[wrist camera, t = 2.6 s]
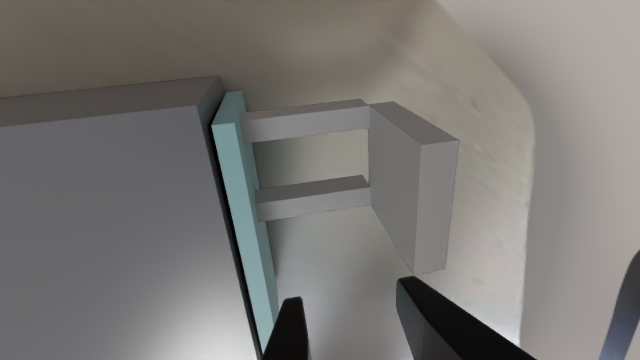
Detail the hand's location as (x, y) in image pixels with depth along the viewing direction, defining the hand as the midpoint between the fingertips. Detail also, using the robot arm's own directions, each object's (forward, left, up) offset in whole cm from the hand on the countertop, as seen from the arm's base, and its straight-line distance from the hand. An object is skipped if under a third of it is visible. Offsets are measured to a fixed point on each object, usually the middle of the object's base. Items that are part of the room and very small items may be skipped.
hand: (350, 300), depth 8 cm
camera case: (+10, +4, -13) cm, 17 cm away
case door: (0, +4, -13) cm, 13 cm away
